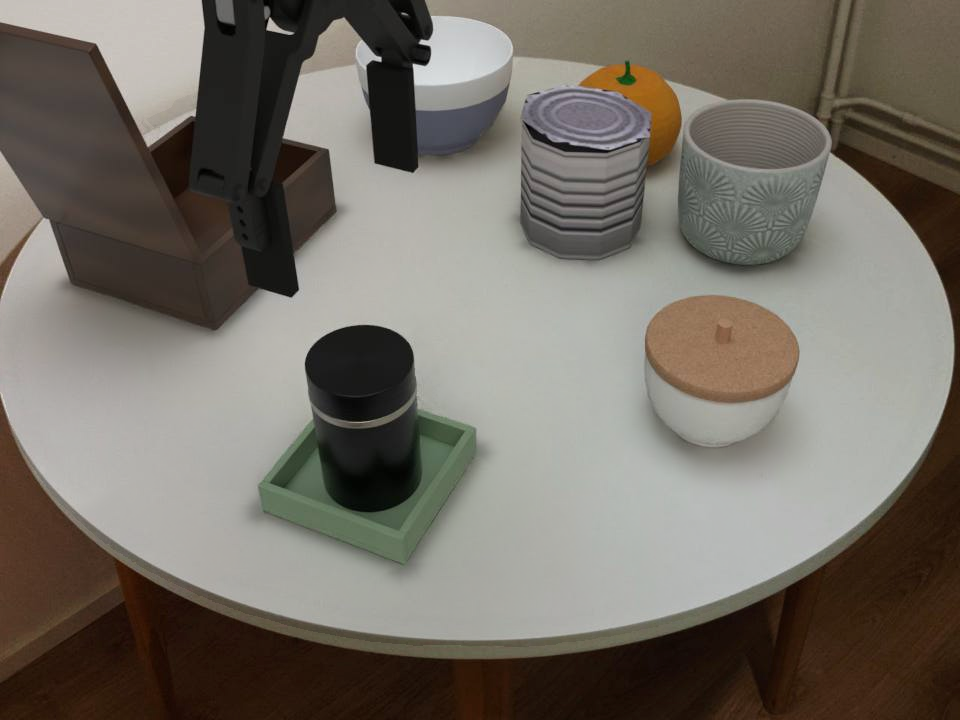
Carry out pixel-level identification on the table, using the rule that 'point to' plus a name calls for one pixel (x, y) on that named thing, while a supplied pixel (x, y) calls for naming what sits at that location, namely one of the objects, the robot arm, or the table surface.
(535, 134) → the can
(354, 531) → the tray
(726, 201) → the planter
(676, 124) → the fruit
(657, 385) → the trinket box
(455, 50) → the bowl
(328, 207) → the chest
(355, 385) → the black canister
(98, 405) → the table surface
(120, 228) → the lid
